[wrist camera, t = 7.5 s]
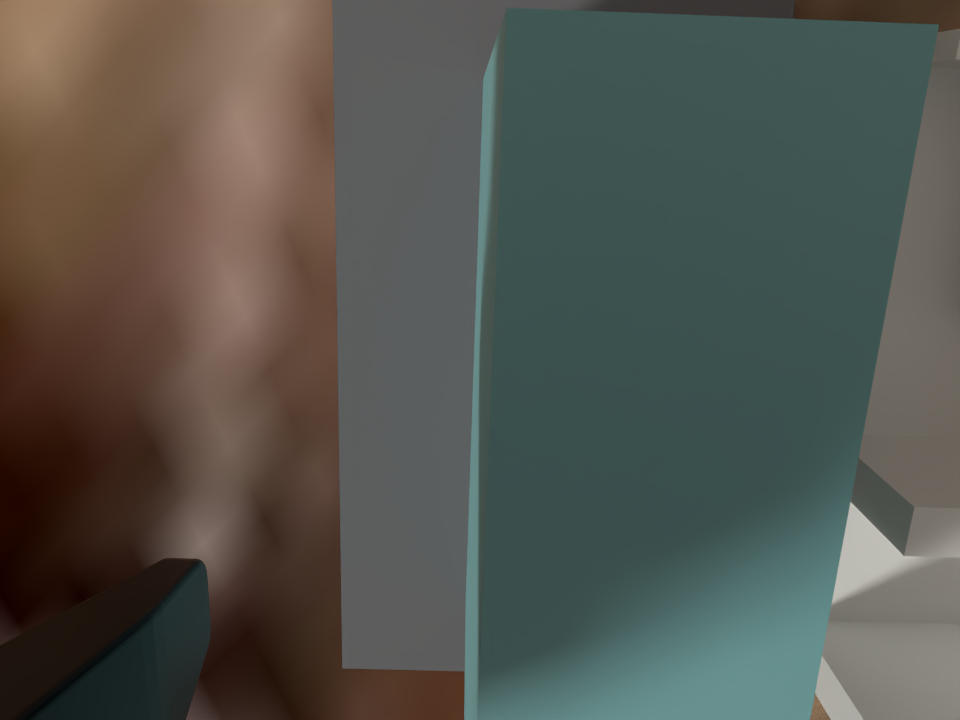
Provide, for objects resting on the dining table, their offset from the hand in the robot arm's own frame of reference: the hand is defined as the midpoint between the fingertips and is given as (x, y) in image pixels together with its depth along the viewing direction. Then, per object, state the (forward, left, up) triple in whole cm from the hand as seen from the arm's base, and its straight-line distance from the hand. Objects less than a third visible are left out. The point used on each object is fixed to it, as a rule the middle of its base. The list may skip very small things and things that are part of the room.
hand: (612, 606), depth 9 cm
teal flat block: (0, 0, -9) cm, 9 cm away
